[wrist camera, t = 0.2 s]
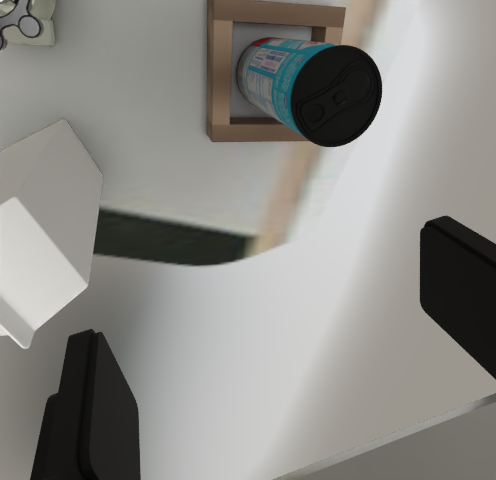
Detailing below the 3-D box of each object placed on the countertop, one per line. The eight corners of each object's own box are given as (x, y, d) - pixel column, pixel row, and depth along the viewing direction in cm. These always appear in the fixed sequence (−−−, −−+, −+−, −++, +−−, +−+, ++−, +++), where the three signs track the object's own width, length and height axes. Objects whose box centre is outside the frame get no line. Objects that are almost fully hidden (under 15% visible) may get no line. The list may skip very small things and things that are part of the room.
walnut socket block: (207, -1, 34) (214, -3, 32) (330, 8, 37) (345, 7, 35) (206, 134, 39) (212, 142, 37) (315, 133, 42) (327, 140, 40)
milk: (46, 205, 39) (-31, 384, 20) (1, 148, 36) (-142, 294, 17) (105, 175, 39) (84, 324, 20) (65, 115, 36) (-4, 224, 17)
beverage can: (304, 92, 40) (389, 126, 27) (247, 116, 40) (305, 161, 27) (287, 26, 37) (374, 29, 24) (225, 51, 37) (280, 67, 24)
